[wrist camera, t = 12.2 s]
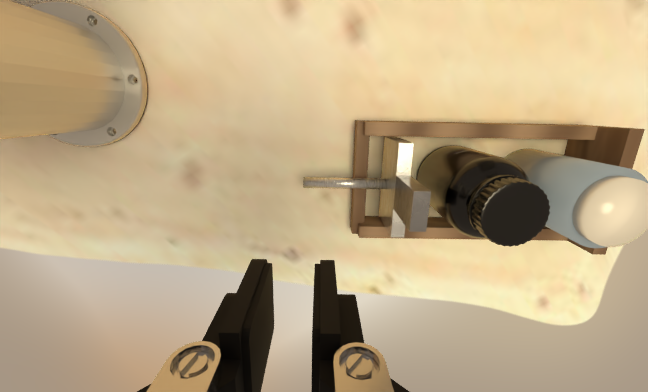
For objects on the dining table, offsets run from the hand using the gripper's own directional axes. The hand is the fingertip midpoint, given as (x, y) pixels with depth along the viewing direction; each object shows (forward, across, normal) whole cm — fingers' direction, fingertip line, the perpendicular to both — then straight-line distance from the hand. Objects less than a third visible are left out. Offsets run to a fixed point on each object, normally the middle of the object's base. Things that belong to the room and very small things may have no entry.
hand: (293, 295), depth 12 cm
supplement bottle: (+21, -14, 0) cm, 26 cm away
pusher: (+21, -4, 0) cm, 21 cm away
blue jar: (+21, -22, 0) cm, 31 cm away
